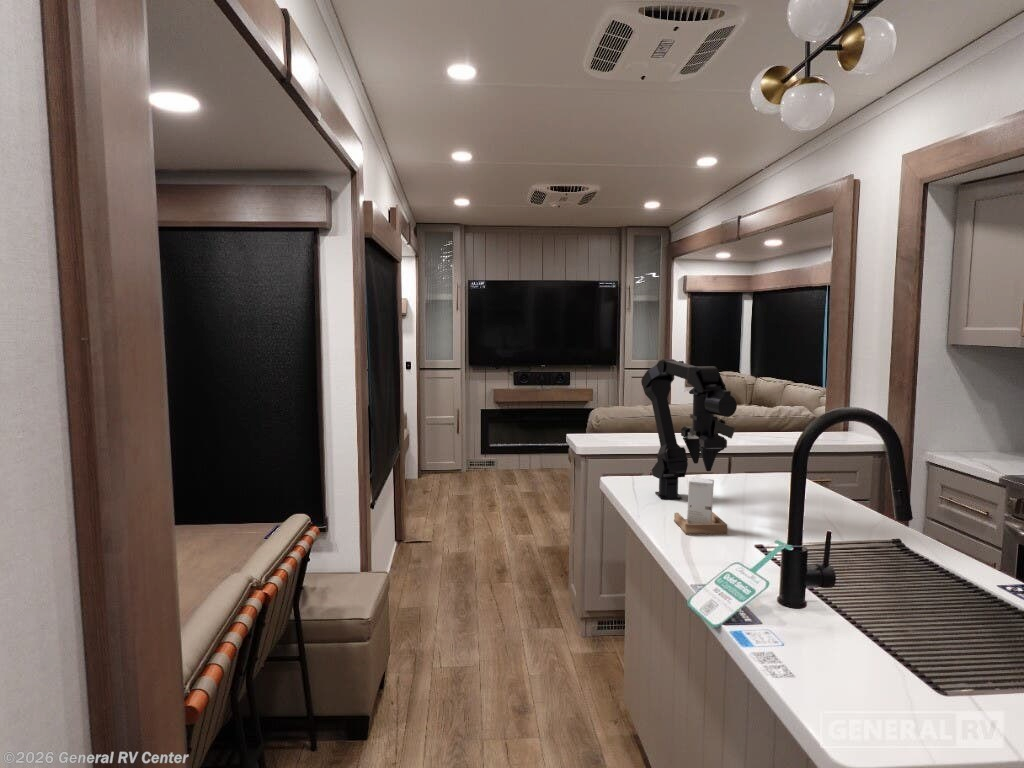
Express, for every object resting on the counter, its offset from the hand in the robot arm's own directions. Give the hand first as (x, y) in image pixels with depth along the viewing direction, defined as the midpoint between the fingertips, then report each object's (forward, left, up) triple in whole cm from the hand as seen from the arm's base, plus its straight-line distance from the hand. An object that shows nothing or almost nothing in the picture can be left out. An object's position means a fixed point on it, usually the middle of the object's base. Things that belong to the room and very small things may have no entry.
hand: (702, 467), depth 165 cm
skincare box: (+12, -5, -13) cm, 18 cm away
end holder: (+12, -5, -13) cm, 18 cm away
